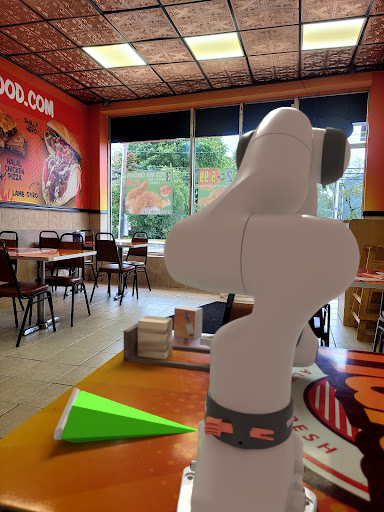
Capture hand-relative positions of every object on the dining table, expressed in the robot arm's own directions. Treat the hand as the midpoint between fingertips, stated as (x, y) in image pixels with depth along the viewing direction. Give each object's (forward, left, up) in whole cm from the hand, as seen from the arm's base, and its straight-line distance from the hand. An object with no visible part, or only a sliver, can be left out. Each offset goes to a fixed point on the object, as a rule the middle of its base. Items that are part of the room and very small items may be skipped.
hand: (201, 339), depth 97 cm
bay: (0, +8, -7) cm, 10 cm away
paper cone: (-34, +6, -7) cm, 35 cm away
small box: (+20, +10, -7) cm, 23 cm away
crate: (0, +13, -6) cm, 15 cm away
